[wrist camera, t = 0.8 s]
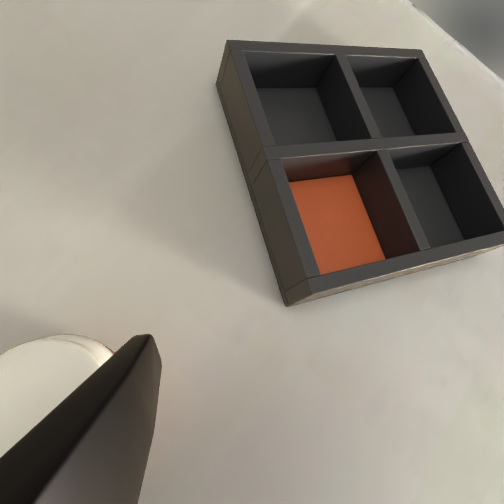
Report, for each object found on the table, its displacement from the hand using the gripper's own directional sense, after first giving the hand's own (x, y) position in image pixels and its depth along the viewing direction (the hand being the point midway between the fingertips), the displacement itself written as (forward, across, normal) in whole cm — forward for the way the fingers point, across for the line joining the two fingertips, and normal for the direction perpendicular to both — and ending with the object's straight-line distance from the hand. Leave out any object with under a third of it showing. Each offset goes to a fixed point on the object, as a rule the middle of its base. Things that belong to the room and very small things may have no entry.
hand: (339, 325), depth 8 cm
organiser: (+22, -7, +3) cm, 23 cm away
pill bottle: (+7, +12, +8) cm, 16 cm away
